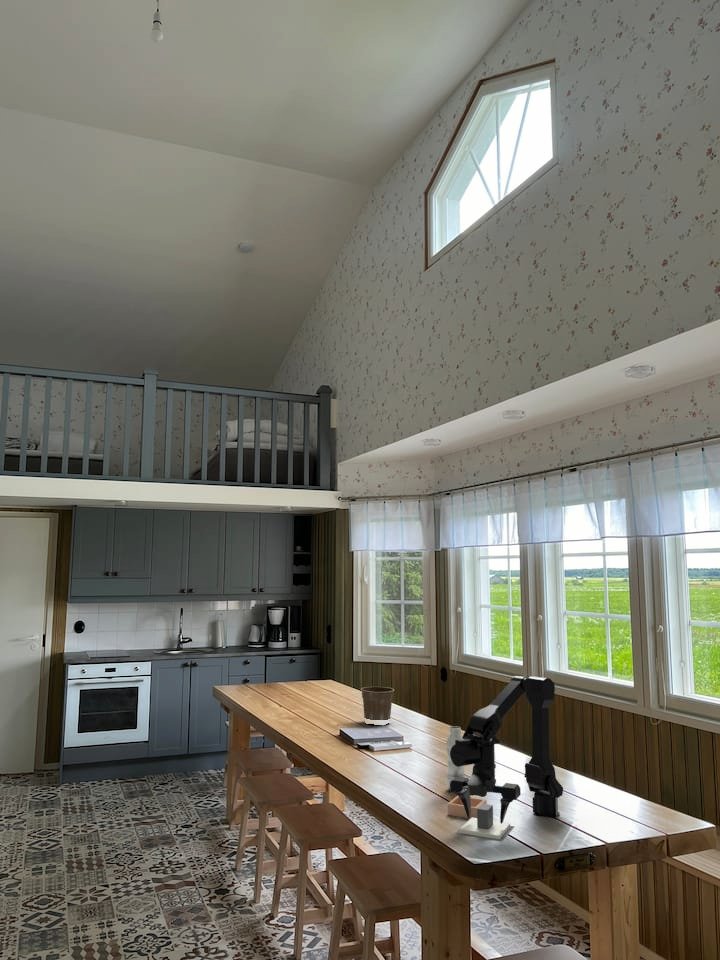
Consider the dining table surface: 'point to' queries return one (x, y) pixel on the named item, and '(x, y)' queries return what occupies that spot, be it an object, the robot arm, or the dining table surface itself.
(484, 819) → the lid
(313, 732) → the dining table surface
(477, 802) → the orange open box
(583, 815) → the dining table surface
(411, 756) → the dining table surface
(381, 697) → the plant pot
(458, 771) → the plastic bottle
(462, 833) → the mat
